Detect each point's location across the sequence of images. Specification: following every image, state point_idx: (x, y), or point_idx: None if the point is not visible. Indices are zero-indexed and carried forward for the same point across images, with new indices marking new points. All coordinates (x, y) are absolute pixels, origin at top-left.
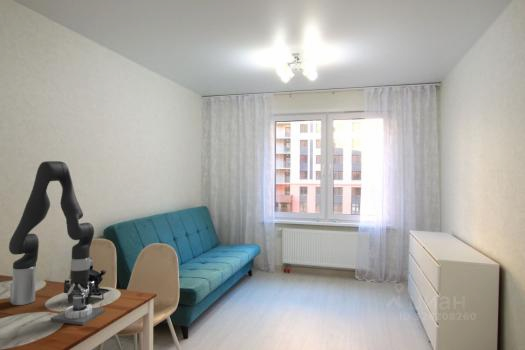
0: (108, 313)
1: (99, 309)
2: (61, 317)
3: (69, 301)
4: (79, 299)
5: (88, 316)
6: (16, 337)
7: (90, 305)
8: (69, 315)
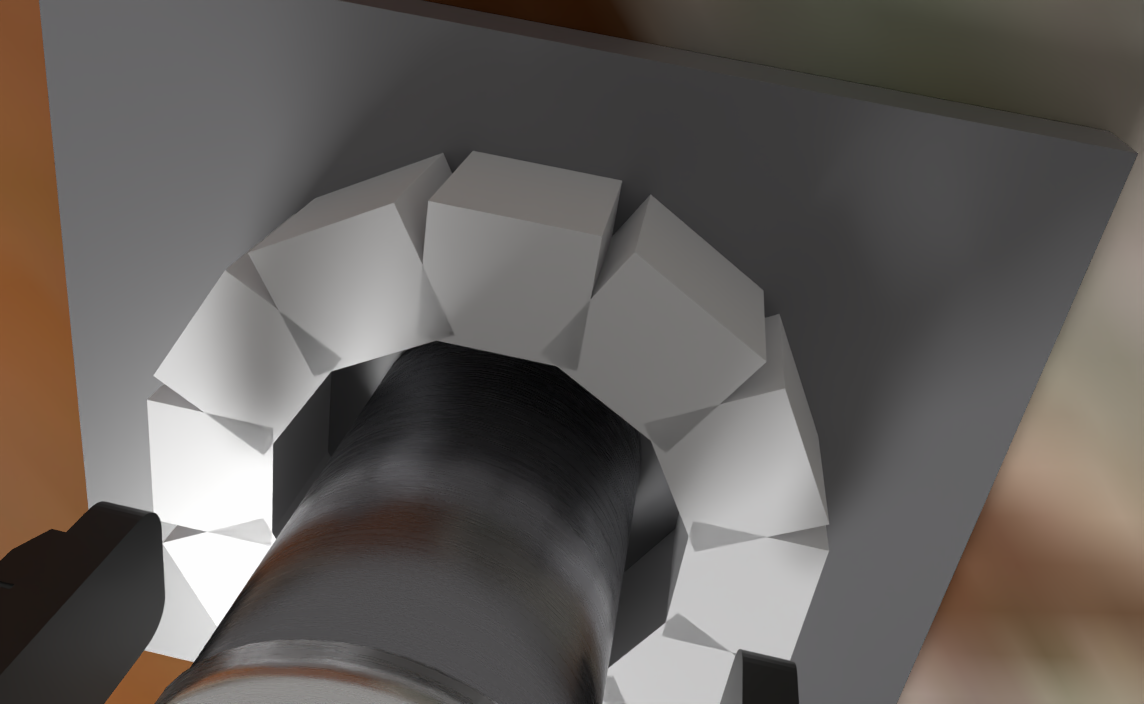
0: (10, 532)
1: (194, 629)
2: (817, 207)
3: (747, 688)
4: (228, 641)
5: (160, 294)
6: None
7: None
8: (549, 194)
